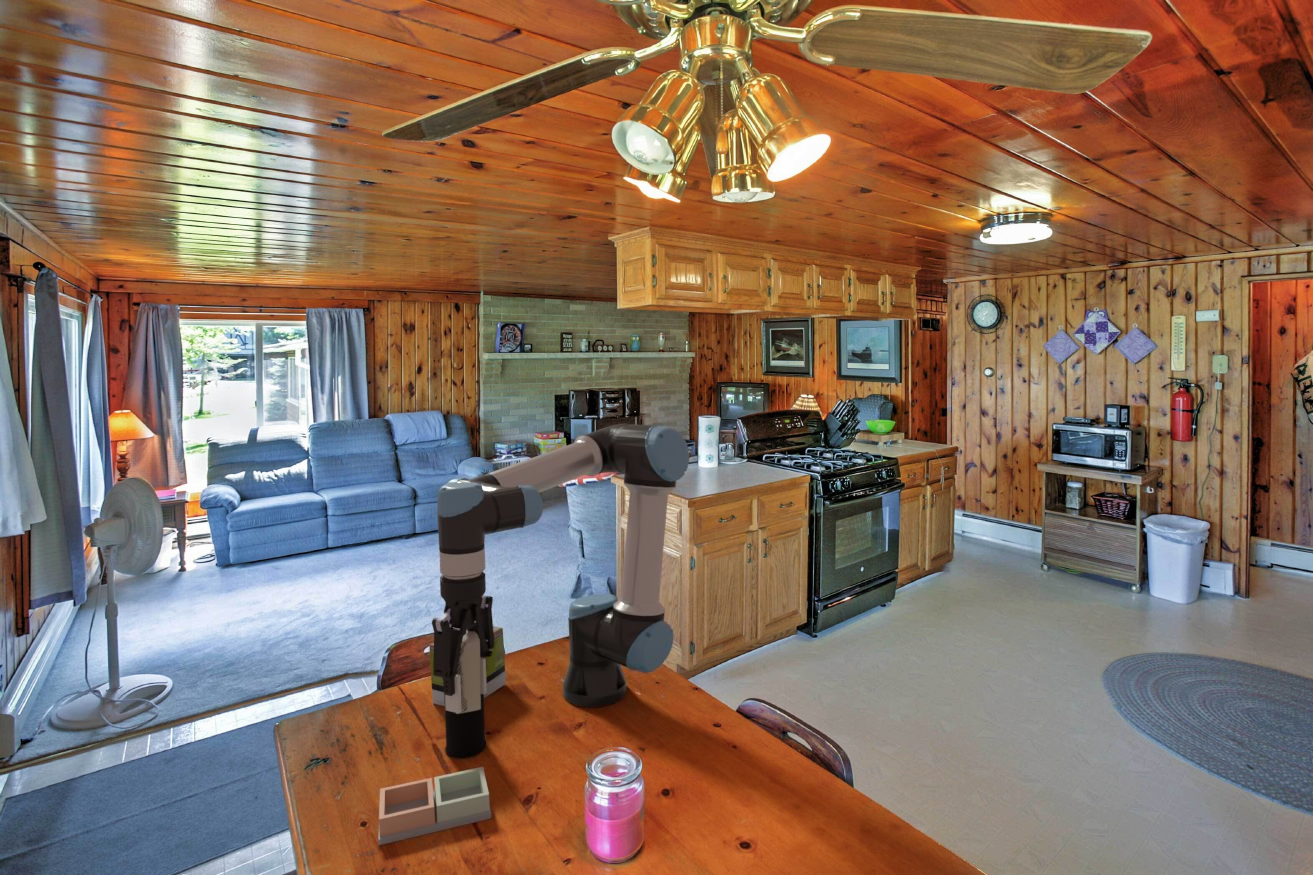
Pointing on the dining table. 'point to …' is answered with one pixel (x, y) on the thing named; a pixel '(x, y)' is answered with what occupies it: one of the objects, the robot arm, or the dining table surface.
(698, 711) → the dining table surface
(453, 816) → the socket board
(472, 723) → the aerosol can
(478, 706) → the box
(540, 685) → the dining table surface
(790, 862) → the dining table surface
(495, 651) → the tea box
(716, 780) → the dining table surface
